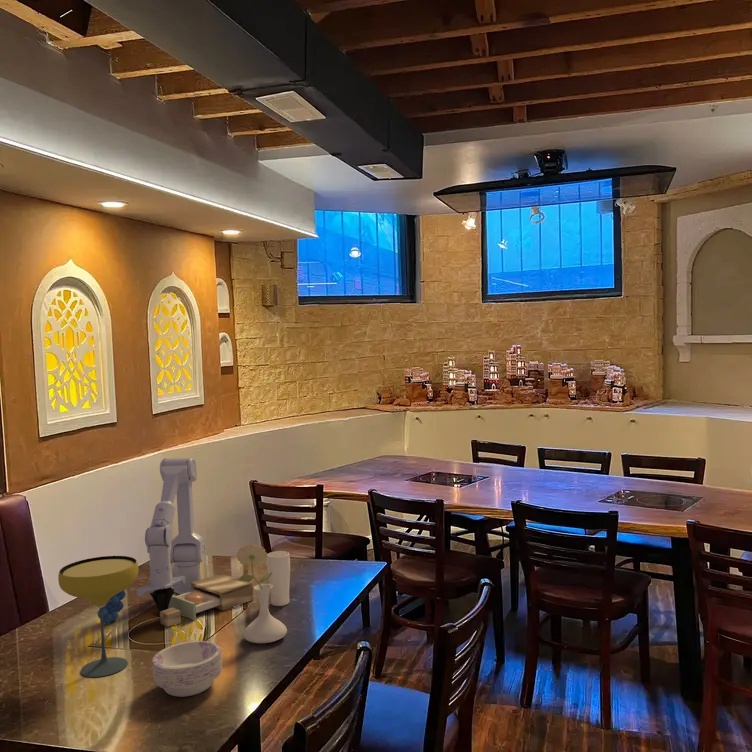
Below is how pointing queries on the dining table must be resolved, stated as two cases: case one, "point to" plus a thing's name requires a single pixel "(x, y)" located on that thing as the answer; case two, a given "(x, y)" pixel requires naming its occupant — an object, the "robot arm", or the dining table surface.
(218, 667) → the paper bowls
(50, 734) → the dining table surface
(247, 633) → the flower in vase
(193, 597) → the rounded lump
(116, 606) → the grapes
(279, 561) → the white cylinder
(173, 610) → the block
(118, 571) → the cocktail glass
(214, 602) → the pull-out drawer
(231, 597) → the housing
